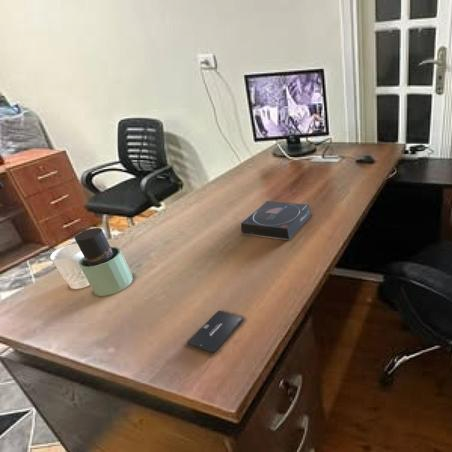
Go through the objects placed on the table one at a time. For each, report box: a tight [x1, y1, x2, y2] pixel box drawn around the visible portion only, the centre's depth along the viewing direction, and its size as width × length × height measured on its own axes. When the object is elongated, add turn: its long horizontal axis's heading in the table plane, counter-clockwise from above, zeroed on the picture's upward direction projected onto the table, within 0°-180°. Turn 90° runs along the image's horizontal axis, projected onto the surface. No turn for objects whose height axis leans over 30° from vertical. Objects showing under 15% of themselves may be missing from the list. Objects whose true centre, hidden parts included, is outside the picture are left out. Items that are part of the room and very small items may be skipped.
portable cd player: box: [240, 200, 312, 241], centre depth 114 cm, size 16×17×4 cm
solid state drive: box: [186, 310, 244, 355], centre depth 75 cm, size 7×10×1 cm
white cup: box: [49, 243, 90, 290], centre depth 94 cm, size 8×8×10 cm
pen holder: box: [79, 246, 134, 297], centre depth 92 cm, size 9×9×9 cm
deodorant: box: [74, 227, 115, 267], centre depth 90 cm, size 6×6×15 cm
